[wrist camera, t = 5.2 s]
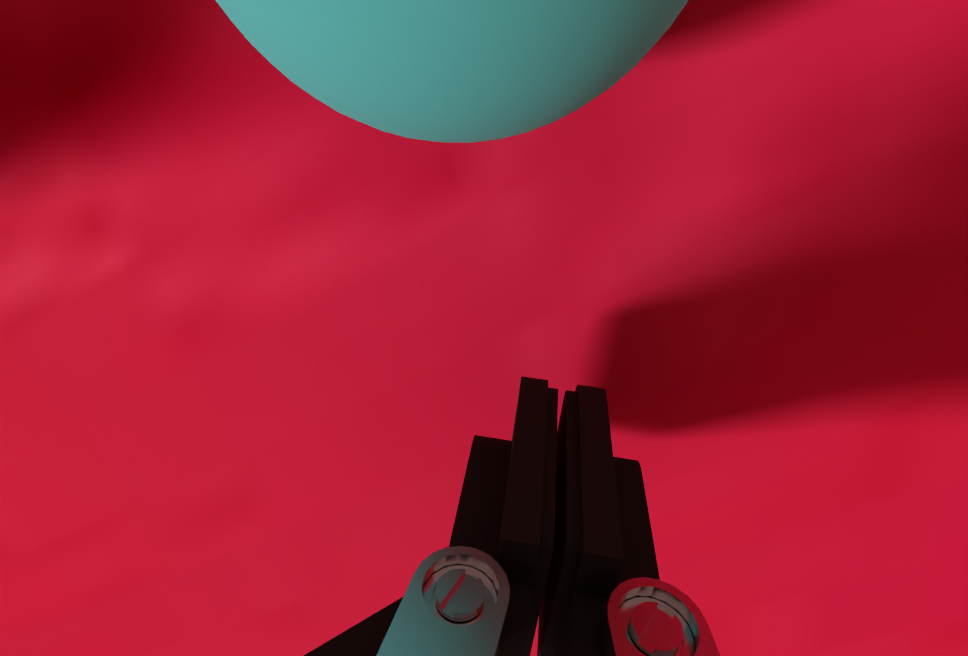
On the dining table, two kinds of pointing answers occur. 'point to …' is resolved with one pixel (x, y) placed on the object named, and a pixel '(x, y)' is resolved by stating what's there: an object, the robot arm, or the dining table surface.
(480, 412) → the dining table surface
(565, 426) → the robot arm
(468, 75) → the ball
